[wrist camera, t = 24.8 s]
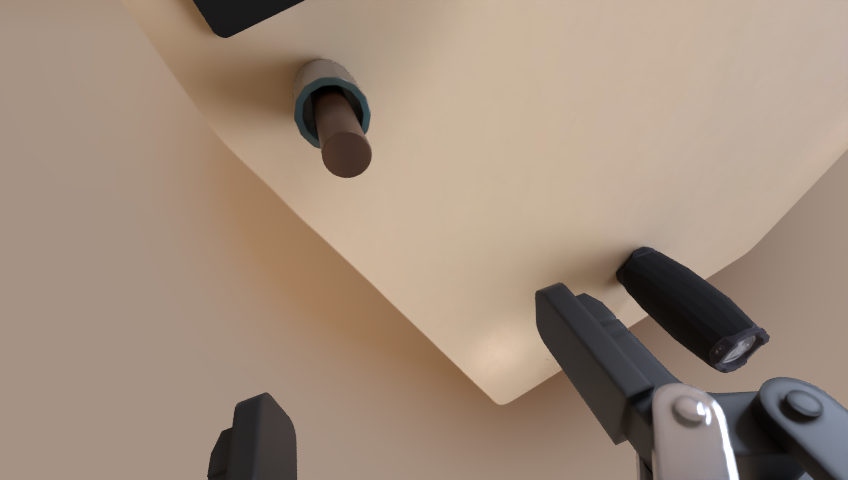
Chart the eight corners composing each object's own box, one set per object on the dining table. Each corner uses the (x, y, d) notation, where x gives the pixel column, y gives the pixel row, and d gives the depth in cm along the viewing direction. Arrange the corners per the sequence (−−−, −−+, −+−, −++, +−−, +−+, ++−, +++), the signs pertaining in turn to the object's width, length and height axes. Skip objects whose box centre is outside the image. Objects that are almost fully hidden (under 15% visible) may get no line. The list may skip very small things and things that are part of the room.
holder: (308, 130, 38) (312, 161, 32) (282, 68, 34) (281, 88, 28) (363, 113, 38) (378, 140, 32) (344, 50, 35) (357, 66, 29)
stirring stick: (317, 112, 37) (332, 184, 24) (304, 80, 35) (314, 140, 22) (347, 103, 37) (377, 169, 24) (336, 71, 35) (363, 124, 22)
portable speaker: (662, 236, 63) (784, 320, 48) (652, 276, 69) (758, 363, 53) (616, 252, 62) (726, 343, 47) (610, 292, 68) (706, 385, 52)
